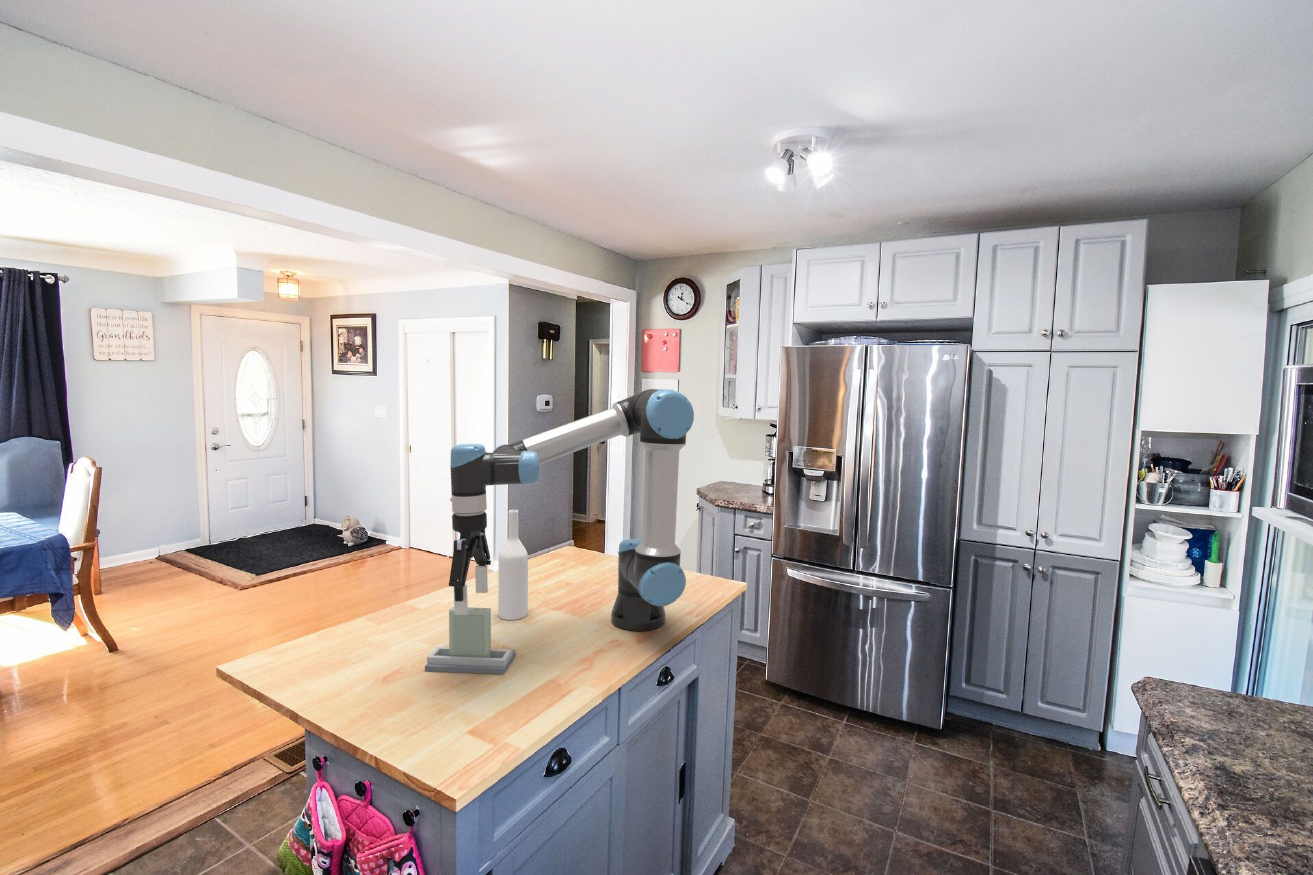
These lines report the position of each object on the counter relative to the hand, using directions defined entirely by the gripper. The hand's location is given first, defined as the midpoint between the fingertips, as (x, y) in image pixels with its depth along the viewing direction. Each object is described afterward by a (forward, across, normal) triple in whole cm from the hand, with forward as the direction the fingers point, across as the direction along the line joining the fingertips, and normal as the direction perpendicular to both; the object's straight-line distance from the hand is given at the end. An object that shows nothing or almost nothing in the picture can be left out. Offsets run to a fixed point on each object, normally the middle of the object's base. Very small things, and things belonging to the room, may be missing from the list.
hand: (471, 602), depth 138 cm
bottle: (+15, -30, +1) cm, 34 cm away
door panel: (+14, 0, -1) cm, 14 cm away
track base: (+15, -1, -1) cm, 15 cm away
